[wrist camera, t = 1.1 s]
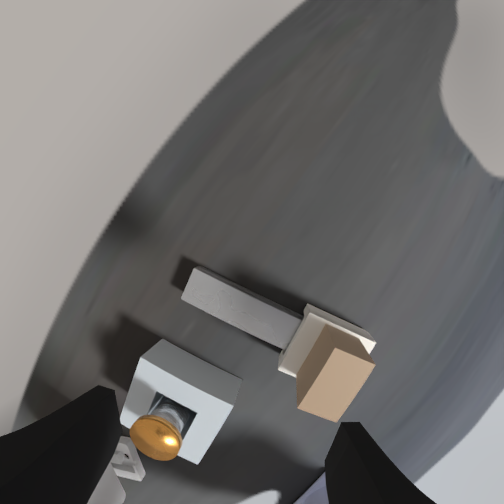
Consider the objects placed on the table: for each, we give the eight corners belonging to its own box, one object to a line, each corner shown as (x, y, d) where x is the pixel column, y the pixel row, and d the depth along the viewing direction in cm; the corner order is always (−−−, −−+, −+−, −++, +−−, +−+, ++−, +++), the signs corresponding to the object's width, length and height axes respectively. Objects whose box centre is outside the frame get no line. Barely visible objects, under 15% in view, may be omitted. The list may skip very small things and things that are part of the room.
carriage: (367, 331, 21) (395, 369, 14) (337, 380, 21) (352, 430, 14) (307, 303, 21) (315, 334, 14) (279, 355, 22) (274, 402, 15)
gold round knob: (203, 403, 20) (185, 438, 15) (188, 432, 20) (170, 467, 16) (161, 381, 20) (136, 411, 16) (149, 412, 20) (125, 443, 16)
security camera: (78, 422, 25) (24, 470, 15) (131, 434, 24) (80, 496, 14) (96, 464, 25) (52, 513, 15) (147, 477, 24) (109, 538, 15)
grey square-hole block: (242, 379, 22) (233, 405, 18) (209, 436, 23) (197, 464, 19) (162, 338, 23) (140, 356, 19) (139, 399, 24) (118, 422, 20)
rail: (359, 341, 21) (364, 348, 20) (343, 368, 21) (347, 376, 20) (200, 265, 22) (193, 267, 21) (187, 294, 22) (180, 298, 21)
